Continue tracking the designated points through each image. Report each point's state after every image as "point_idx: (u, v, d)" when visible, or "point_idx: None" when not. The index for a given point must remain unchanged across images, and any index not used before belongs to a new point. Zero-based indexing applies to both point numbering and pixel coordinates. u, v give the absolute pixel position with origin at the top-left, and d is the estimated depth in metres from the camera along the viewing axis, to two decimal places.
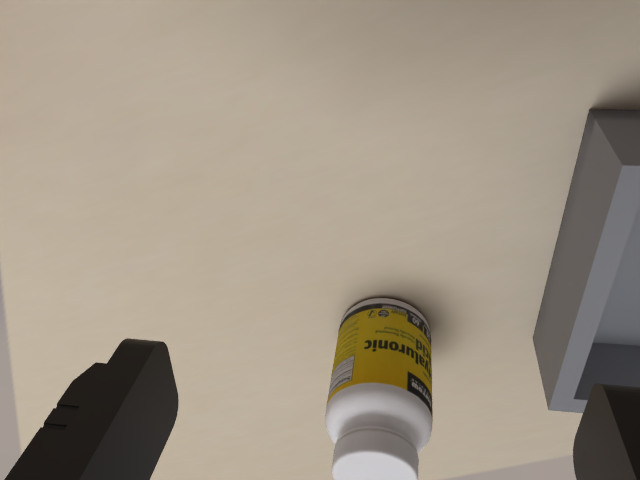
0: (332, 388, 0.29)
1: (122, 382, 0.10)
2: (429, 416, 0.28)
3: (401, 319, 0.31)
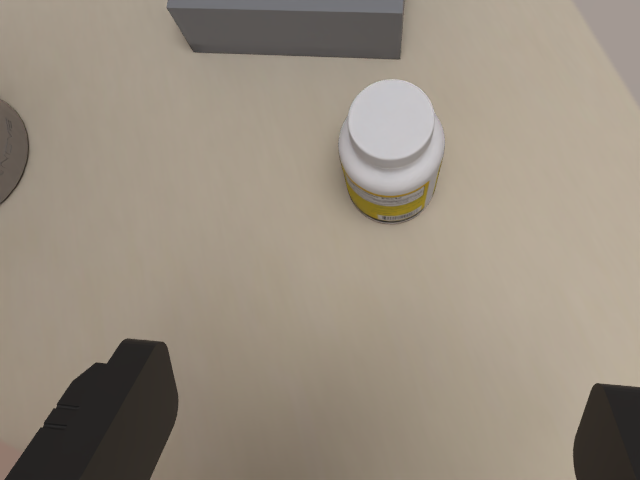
0: (363, 192, 0.29)
1: (122, 382, 0.10)
2: None
3: None
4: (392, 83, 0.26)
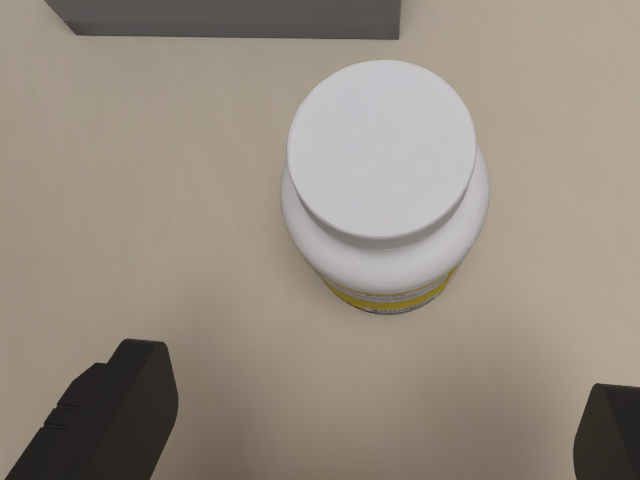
0: (331, 282, 0.15)
1: (122, 382, 0.10)
2: None
3: None
4: (381, 68, 0.12)
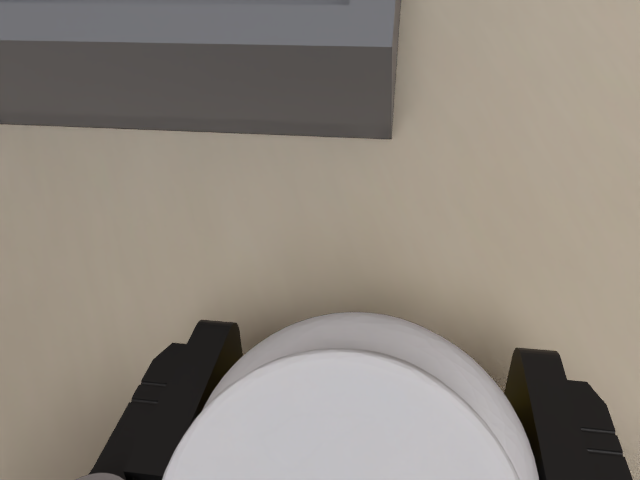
0: None
1: (205, 359, 0.10)
2: (310, 318, 0.09)
3: None
4: (343, 373, 0.06)
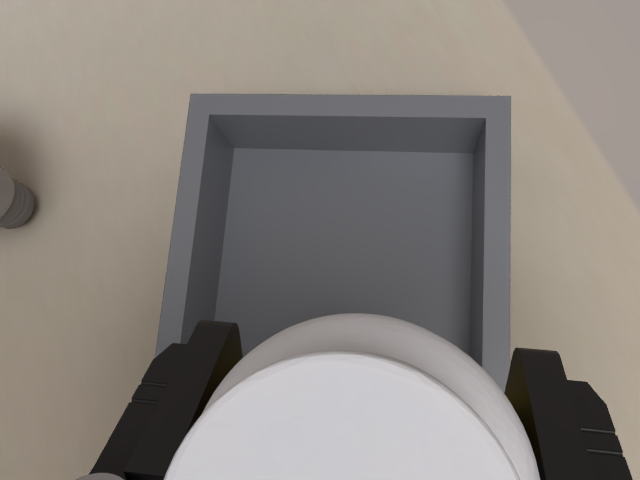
0: None
1: (205, 359, 0.10)
2: (311, 320, 0.09)
3: None
4: (344, 374, 0.06)
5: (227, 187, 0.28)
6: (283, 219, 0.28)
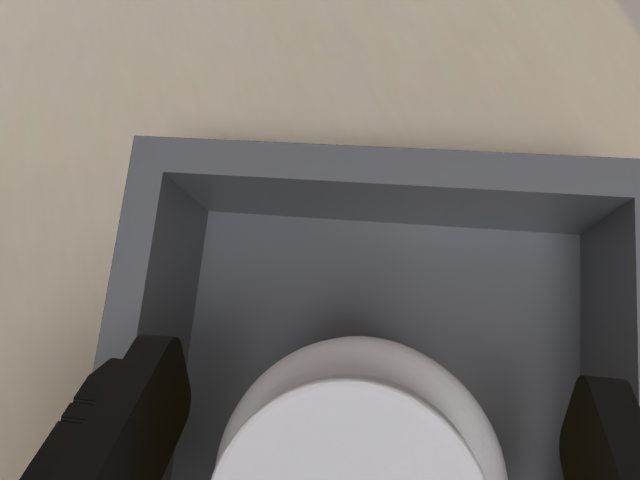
0: None
1: (138, 376, 0.10)
2: (322, 341, 0.11)
3: None
4: (354, 396, 0.08)
5: (195, 274, 0.18)
6: (281, 328, 0.18)
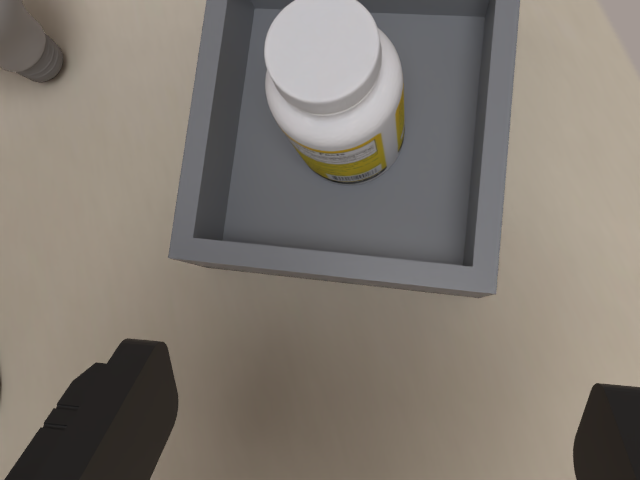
0: (297, 144, 0.23)
1: (122, 382, 0.10)
2: None
3: None
4: None
5: (247, 44, 0.30)
6: None
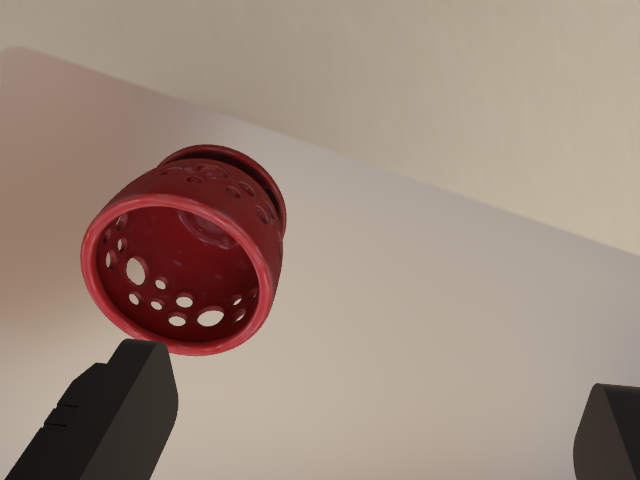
0: None
1: (122, 382, 0.10)
2: None
3: None
4: None
5: None
6: None
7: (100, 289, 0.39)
